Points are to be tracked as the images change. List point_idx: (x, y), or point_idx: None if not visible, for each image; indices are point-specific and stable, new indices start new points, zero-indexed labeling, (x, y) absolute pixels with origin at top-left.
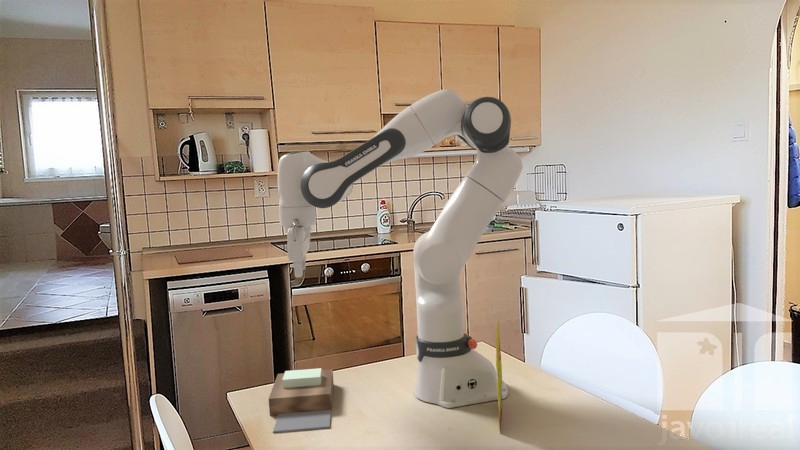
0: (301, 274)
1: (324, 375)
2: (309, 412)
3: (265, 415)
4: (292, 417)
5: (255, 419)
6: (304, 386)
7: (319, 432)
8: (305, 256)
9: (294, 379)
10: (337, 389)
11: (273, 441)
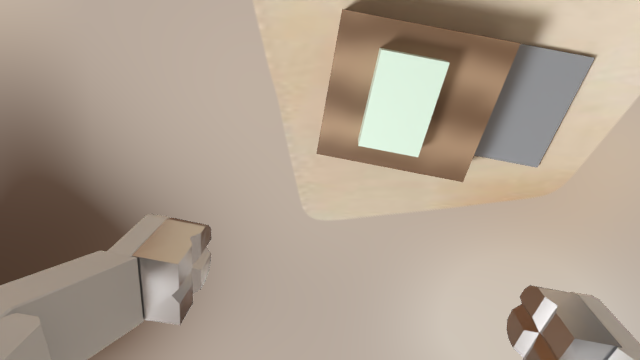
0: (604, 314)
1: (380, 40)
2: None
3: None
4: (497, 128)
5: (454, 190)
6: None
7: (595, 81)
8: (29, 304)
9: (426, 129)
10: (380, 4)
11: (570, 167)
